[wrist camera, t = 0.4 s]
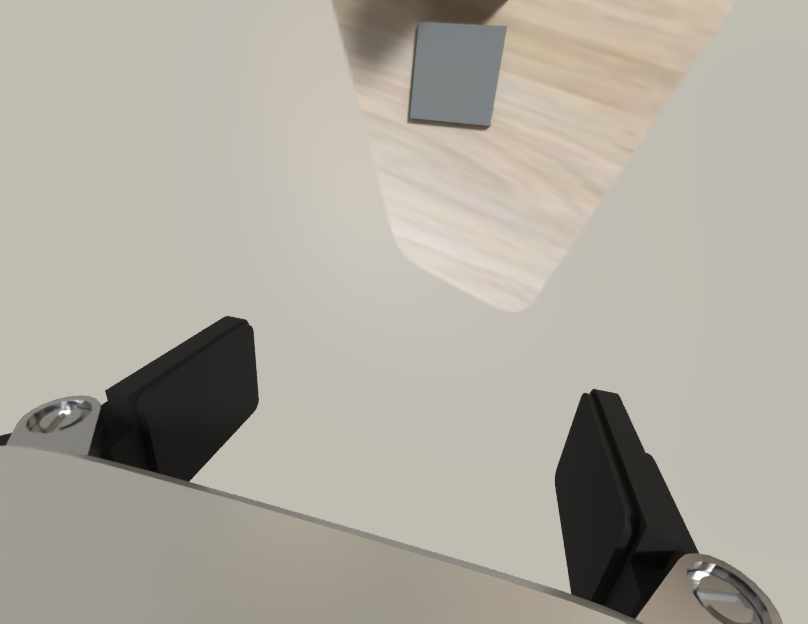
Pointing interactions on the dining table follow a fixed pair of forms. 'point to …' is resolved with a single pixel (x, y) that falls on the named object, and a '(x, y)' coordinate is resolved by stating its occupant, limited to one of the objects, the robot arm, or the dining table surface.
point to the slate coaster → (456, 72)
